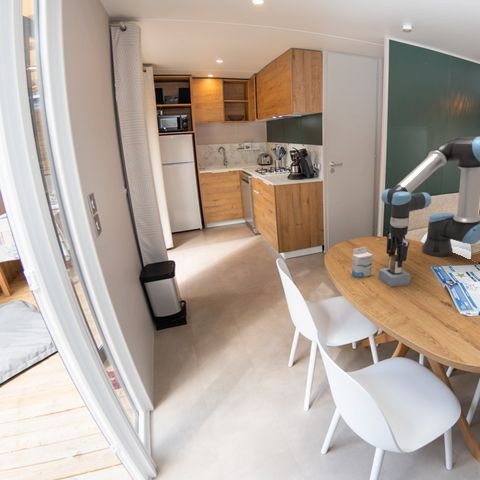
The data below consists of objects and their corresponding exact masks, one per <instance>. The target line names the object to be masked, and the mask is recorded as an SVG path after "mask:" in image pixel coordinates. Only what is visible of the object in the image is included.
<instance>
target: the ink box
mask: <svg viewBox="0 0 480 480" xmlns="http://www.w3.org/2000/svg"><path fill="white" fill-rule="evenodd" d="M373 257H374V255H373V254H372V253H370V252H368V246H362V247H357V248H356V247H355V248H353V250H352V266H351V275H352V276H353V277H355V278H357V279H358V278H363V277H369V276H372V269H373Z"/></svg>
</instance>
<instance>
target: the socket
mask: <svg viewBox="0 0 480 480" xmlns="http://www.w3.org/2000/svg"><path fill="white" fill-rule="evenodd" d="M378 279H379V280H380V281H382V282H383V283H384V284H386V285H387V286H389V287H390V288H392V287H393V288H394V287H400V286H404V285H409V284H410V283H411V274H410V273H409V272H407V271H406V270H404V269H403V268H401V273H399V274H396V275H392V274H391V273H390V269H389V267H384V268H379V269H378Z"/></svg>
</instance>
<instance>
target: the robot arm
mask: <svg viewBox="0 0 480 480" xmlns="http://www.w3.org/2000/svg"><path fill="white" fill-rule="evenodd" d="M451 162H457V167H458V169H460V179H459V180H460V181H459V190H458V201H457V210H456V211H457V212H456V215H455V214H454V213H453V212H452V213H451V212H439V213H437V212H436V213H433V214H431V215H430V216H429V220H428V225H427V233H426V239H425V240H424V243H423V245H422V247H421V252H422V253H423V254H426V255H429V256H432V257H439V258H440V257H443V258H445V257H449V256H452V255H453V252H454V251H453V246H452V242H451V240H453V241H457V242H460V243H463V244H468V245H475V244H477V243H478V242H479V241H480V216H479V215H478V214H479V206H480V205H479V204H480V136H465V137H464V136H463V137H461V136H460V137H459V136H458V137H453V138H449V139H447V140H445V141H443V142H441V143H440V144H438V145H437V146H435V147H434V148H433V149H432V150H430V151H429V153H428V154H427V157H426V158H425V159H424V160H422V162H420V163H419V164H418V165H417V166H416V167H415V168H414V169H413V170H412V171H411V172H410V173H408V174H407V175H406V176H405V177H404V178H403V179H402V180H401V181H400V182H398V183H397V184H396V185H395V186H394V187H393V188H387V189H385V190H383V192H382V193H381V200H382V202H383V204H384V203H385V204H387V205H391V211H390V212H391V213H390V220H389V221H390V222H389V224H390V225H389V234H386V254H387V255H388V268H389V269H390V264H391V255H397V260H396V264H395V273H401V269H402V268H403V262H406V261H407V257H408V250H409V246H410V241H406V235H407V234H408V230H409V229H408V228H409V227H408V226H409V223H410V222H409V221H410V212H414V211H417V210H424V209H426V208H428V207H430V205H431V203H432V197H431V195H430V194H429V193H428V192H417V193H416V192H414V191H415V190H416V189H417V188H418V187H419V186H420V185H421V184H422V183H423V182H424V181H426V180H427V179H428V178H429V177H430V176H431V175H432V174H434V172H435V171H436V170H438V169H439V168H440V167H443V166H445V165H446V164H447V163H451Z"/></svg>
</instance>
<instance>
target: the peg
mask: <svg viewBox="0 0 480 480" xmlns="http://www.w3.org/2000/svg"><path fill="white" fill-rule="evenodd" d="M396 260H397V254H395V255H391V264H390V273H391V274H392V275H396V274H399V273H395V264H396Z"/></svg>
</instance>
